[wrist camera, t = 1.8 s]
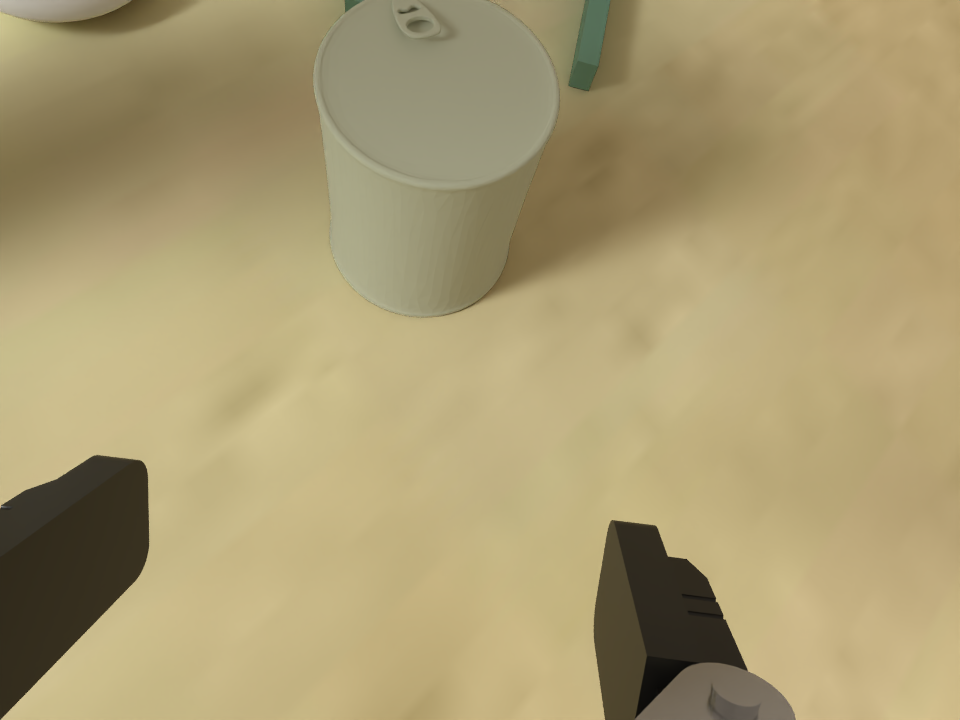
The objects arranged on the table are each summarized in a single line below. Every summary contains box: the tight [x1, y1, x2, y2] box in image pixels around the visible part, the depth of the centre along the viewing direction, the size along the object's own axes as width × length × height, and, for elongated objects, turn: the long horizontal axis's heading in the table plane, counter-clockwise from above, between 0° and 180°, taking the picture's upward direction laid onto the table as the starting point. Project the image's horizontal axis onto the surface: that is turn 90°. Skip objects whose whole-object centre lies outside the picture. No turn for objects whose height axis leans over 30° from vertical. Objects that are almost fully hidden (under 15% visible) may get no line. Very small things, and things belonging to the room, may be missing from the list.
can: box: [313, 0, 560, 317], centre depth 31 cm, size 9×9×12 cm
